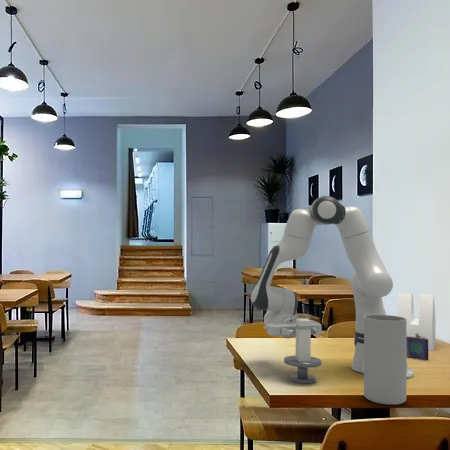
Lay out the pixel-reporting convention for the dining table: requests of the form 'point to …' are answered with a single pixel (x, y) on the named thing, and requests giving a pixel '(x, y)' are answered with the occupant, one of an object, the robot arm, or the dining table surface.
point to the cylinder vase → (385, 359)
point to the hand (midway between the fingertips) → (303, 332)
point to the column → (303, 339)
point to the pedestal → (302, 369)
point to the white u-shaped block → (426, 316)
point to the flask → (417, 347)
